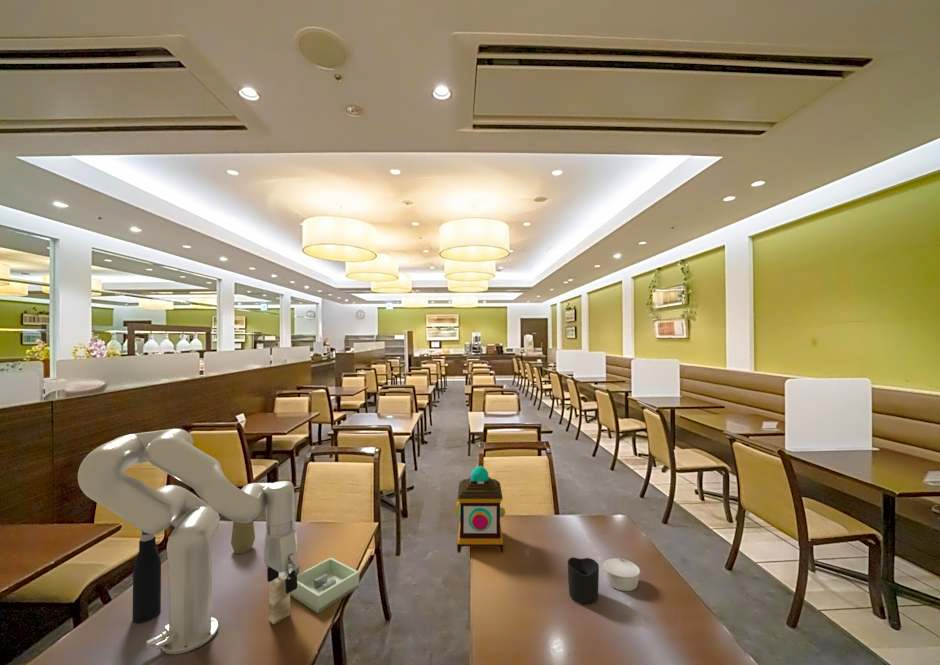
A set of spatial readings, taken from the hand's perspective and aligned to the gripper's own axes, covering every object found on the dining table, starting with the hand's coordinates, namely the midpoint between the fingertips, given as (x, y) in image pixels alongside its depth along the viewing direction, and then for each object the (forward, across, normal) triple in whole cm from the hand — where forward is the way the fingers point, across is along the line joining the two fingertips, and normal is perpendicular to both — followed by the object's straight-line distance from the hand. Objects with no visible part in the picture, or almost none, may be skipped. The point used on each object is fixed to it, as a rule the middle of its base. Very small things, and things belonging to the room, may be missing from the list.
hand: (282, 585), depth 116 cm
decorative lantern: (+11, +23, +68) cm, 73 cm away
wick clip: (+10, 0, +14) cm, 17 cm away
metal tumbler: (+9, -18, +11) cm, 23 cm away
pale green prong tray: (+10, 0, +14) cm, 17 cm away
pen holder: (+12, +68, +59) cm, 91 cm away
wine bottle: (+8, -33, -23) cm, 41 cm away
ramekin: (+12, +76, +73) cm, 106 cm away
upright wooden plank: (+9, 0, -1) cm, 9 cm away
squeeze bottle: (+9, -48, +11) cm, 50 cm away
